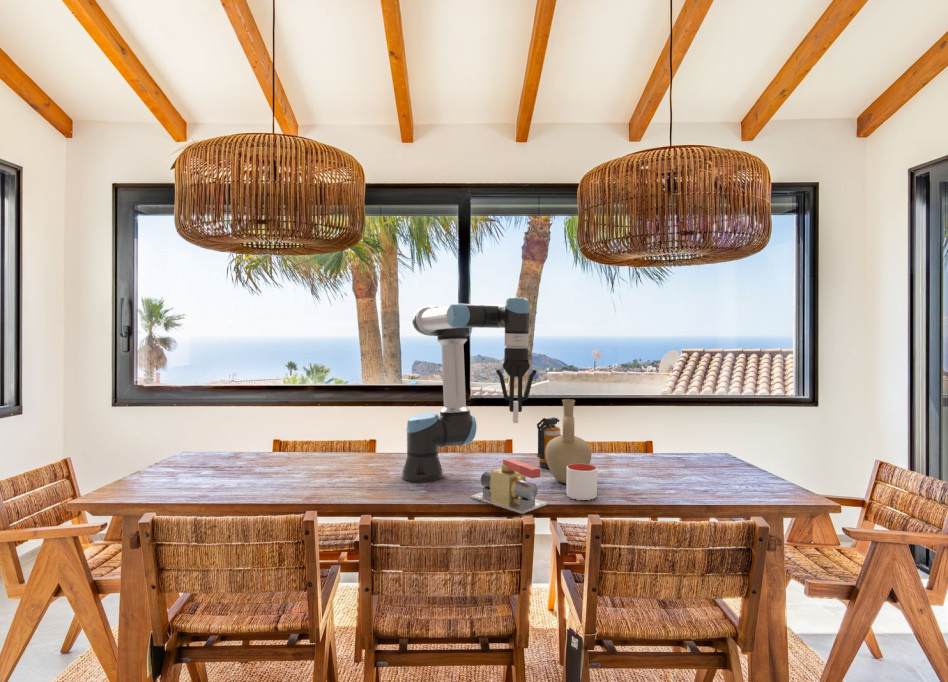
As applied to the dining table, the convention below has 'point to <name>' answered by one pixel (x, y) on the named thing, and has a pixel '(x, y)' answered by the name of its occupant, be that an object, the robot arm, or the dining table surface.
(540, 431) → the canister
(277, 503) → the dining table surface
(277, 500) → the dining table surface
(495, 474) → the valve
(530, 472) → the lever
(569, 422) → the vase
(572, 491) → the cup
